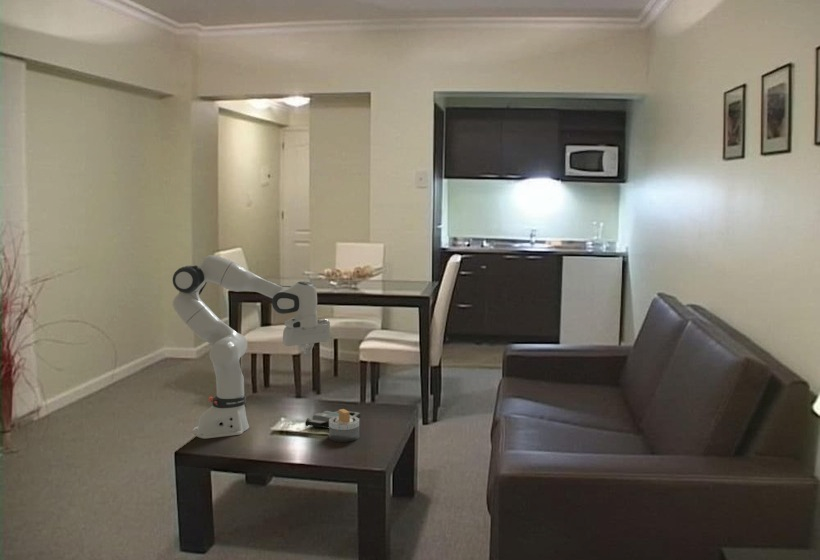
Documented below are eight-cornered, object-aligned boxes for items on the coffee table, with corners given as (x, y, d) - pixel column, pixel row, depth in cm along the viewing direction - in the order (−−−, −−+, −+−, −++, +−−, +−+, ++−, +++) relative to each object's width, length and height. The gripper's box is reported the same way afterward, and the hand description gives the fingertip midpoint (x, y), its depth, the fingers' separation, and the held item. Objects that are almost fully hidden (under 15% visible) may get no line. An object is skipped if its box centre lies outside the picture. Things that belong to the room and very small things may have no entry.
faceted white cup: (337, 444, 294) (337, 426, 293) (324, 435, 304) (324, 418, 303) (364, 438, 300) (364, 421, 299) (350, 430, 310) (350, 413, 309)
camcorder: (353, 432, 308) (353, 420, 308) (304, 429, 311) (304, 417, 310) (361, 420, 324) (361, 408, 324) (315, 418, 327) (315, 406, 326)
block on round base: (340, 429, 296) (340, 414, 296) (332, 424, 303) (331, 410, 302) (356, 425, 300) (356, 411, 300) (348, 421, 306) (347, 407, 306)
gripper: (326, 317, 317) (326, 349, 318) (280, 322, 306) (281, 355, 308) (333, 319, 311) (333, 352, 313) (286, 324, 301) (287, 358, 302)
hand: (307, 354), depth 310 cm, fingers closed
